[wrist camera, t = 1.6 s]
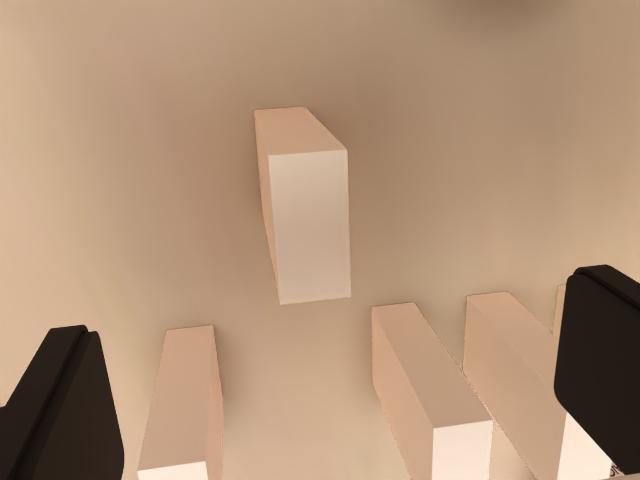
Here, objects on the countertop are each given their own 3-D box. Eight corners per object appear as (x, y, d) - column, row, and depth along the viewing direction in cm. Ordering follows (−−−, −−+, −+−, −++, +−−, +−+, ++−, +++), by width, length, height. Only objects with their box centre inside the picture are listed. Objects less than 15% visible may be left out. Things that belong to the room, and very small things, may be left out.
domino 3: (507, 291, 31) (623, 401, 22) (501, 366, 33) (605, 496, 24) (467, 295, 31) (567, 408, 22) (462, 371, 33) (553, 504, 24)
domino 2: (413, 302, 31) (493, 419, 21) (412, 377, 32) (485, 516, 23) (371, 306, 30) (433, 428, 21) (372, 383, 32) (430, 525, 23)
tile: (304, 106, 26) (347, 149, 17) (310, 207, 28) (351, 296, 19) (253, 109, 26) (268, 155, 16) (262, 212, 27) (280, 305, 18)
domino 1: (213, 324, 29) (205, 461, 20) (223, 402, 31) (220, 560, 22) (166, 330, 29) (137, 471, 20) (179, 408, 31) (158, 571, 22)
